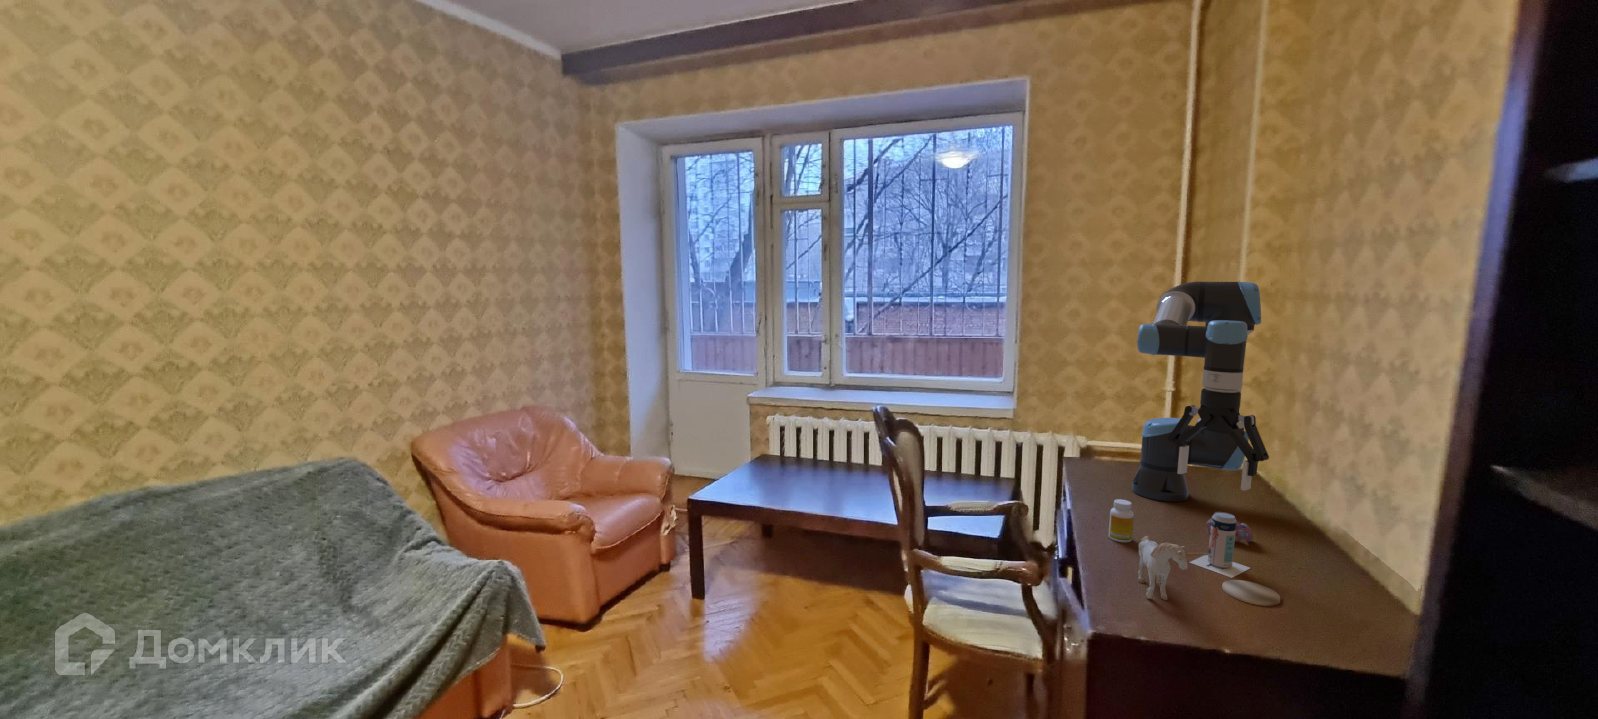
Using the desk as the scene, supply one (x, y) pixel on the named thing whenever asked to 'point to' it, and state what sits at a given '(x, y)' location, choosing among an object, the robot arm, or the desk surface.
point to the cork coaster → (1251, 592)
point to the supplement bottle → (1121, 521)
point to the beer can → (1222, 540)
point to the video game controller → (1237, 531)
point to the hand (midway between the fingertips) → (1212, 481)
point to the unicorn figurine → (1160, 563)
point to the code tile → (1229, 572)
